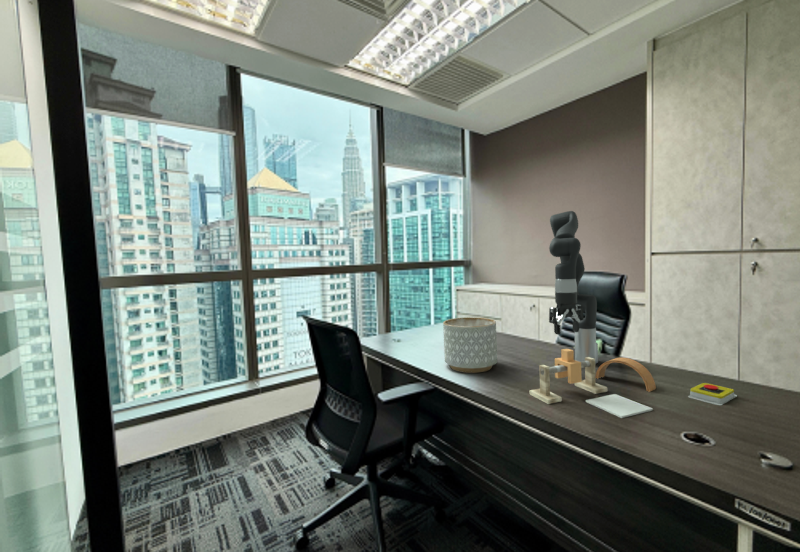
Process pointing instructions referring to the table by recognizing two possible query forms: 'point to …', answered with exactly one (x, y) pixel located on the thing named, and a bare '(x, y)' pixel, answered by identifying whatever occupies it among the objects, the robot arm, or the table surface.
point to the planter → (470, 344)
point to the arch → (633, 364)
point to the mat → (619, 405)
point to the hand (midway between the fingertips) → (566, 333)
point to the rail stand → (586, 384)
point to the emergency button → (712, 393)
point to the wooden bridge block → (569, 366)
